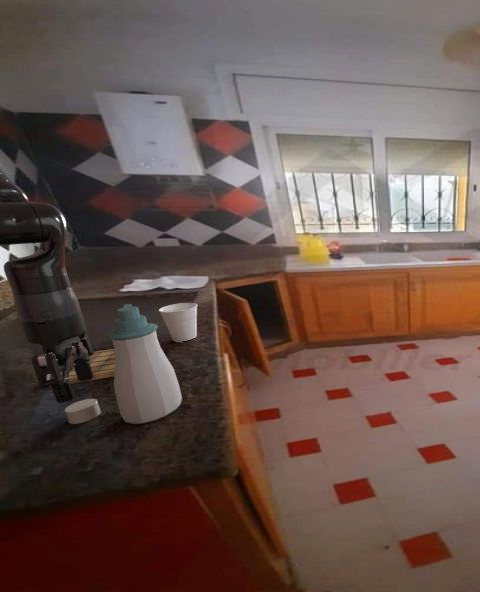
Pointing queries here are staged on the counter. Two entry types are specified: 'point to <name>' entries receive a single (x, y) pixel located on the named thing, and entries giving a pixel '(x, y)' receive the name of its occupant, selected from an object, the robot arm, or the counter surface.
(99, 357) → the board
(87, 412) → the white short cylinder
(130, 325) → the soap bottle
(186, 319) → the cup
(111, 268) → the counter surface
